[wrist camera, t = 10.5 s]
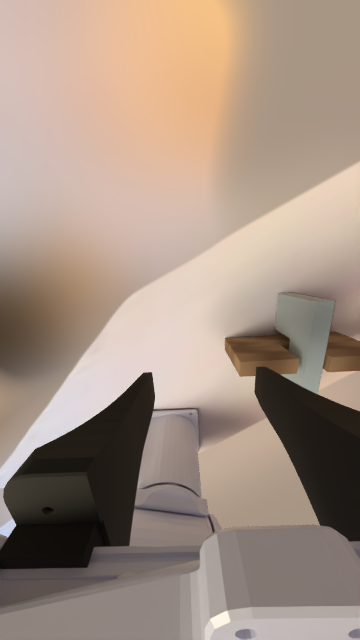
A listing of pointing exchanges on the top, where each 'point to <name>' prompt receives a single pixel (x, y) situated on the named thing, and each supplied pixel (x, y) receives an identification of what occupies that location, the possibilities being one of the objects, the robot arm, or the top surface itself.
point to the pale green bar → (305, 334)
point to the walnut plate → (289, 354)
